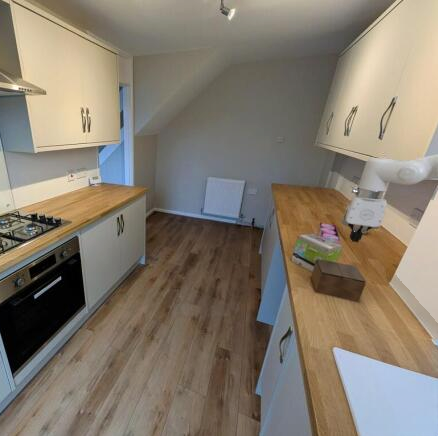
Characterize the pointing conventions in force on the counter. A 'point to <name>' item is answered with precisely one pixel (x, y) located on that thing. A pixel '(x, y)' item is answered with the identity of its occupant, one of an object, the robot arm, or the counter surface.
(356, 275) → the flap
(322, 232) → the gum box
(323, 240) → the tea box
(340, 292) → the carton
